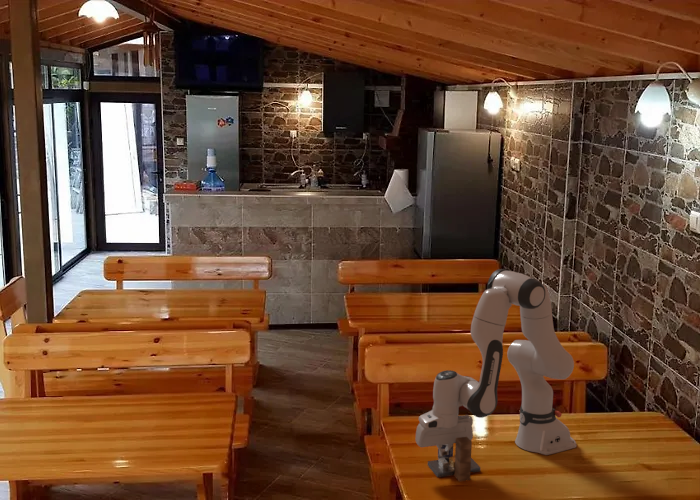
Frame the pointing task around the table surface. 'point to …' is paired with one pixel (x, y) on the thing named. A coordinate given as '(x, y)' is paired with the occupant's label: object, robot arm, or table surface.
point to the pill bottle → (449, 452)
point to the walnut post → (463, 458)
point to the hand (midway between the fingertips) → (443, 454)
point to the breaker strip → (448, 466)
